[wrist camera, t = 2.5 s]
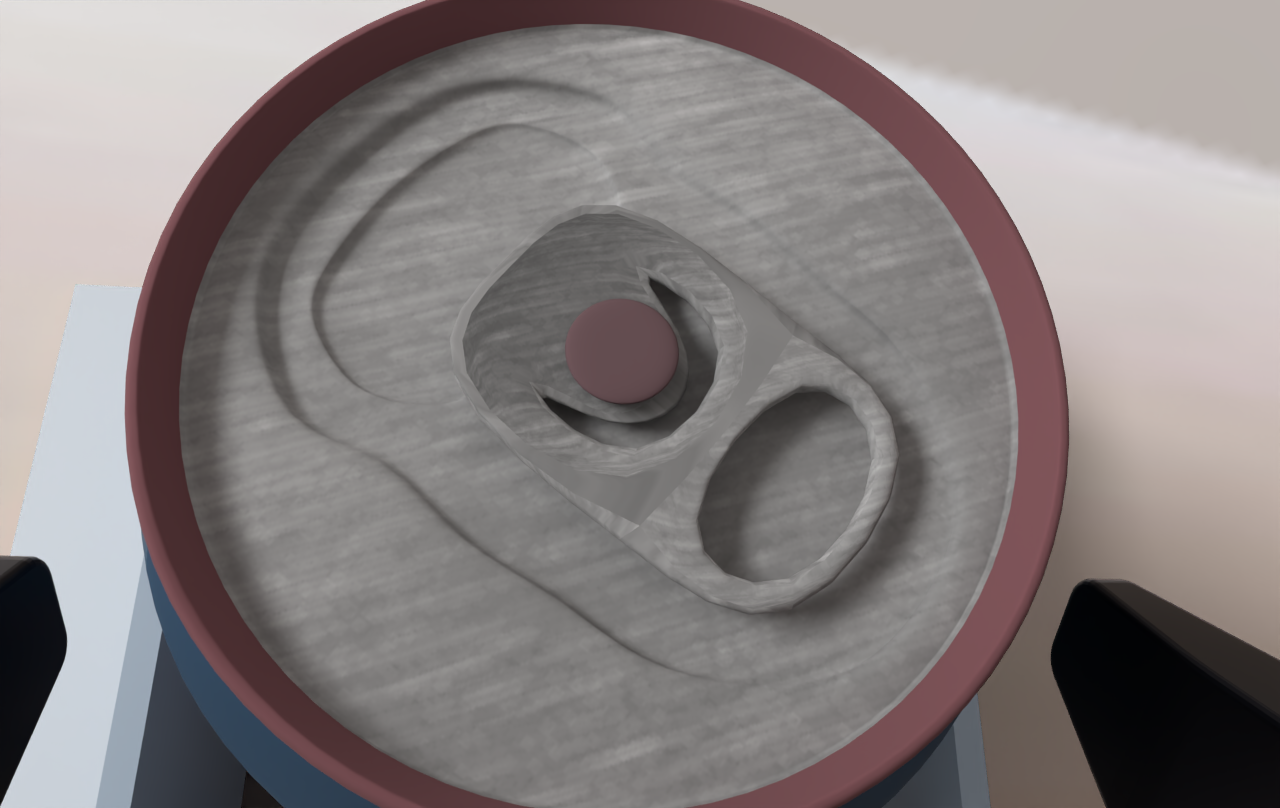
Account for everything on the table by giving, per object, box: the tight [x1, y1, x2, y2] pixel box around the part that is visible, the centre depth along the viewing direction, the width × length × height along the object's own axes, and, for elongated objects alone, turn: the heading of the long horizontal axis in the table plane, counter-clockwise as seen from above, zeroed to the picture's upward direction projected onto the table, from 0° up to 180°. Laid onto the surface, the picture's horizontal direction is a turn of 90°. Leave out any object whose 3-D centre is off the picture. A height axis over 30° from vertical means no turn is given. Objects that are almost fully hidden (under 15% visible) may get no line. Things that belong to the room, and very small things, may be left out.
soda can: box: [124, 0, 1069, 808], centre depth 11 cm, size 7×7×12 cm
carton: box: [0, 284, 991, 808], centre depth 14 cm, size 15×15×4 cm
